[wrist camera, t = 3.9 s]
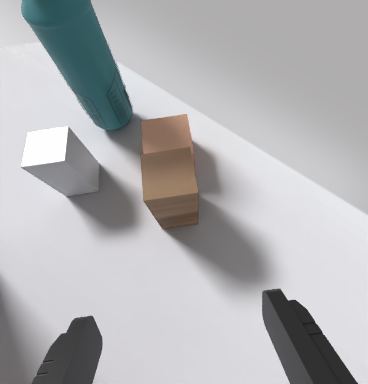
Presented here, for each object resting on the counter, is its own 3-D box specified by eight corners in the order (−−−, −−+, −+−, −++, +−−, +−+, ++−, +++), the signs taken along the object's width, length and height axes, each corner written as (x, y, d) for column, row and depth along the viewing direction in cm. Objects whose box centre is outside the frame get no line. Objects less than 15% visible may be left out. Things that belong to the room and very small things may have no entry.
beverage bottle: (143, 125, 32) (75, -77, 14) (105, 145, 31) (-23, -46, 13) (125, 100, 35) (46, -101, 16) (89, 118, 34) (-39, -76, 15)
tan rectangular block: (197, 223, 26) (198, 192, 17) (162, 228, 26) (143, 200, 17) (192, 191, 28) (190, 146, 18) (159, 196, 28) (140, 154, 18)
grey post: (98, 191, 28) (64, 160, 21) (66, 196, 28) (20, 167, 21) (99, 163, 30) (68, 126, 23) (68, 168, 30) (27, 132, 23)
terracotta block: (194, 173, 29) (194, 152, 24) (152, 179, 29) (143, 160, 24) (188, 138, 31) (186, 114, 27) (149, 144, 31) (140, 120, 27)
